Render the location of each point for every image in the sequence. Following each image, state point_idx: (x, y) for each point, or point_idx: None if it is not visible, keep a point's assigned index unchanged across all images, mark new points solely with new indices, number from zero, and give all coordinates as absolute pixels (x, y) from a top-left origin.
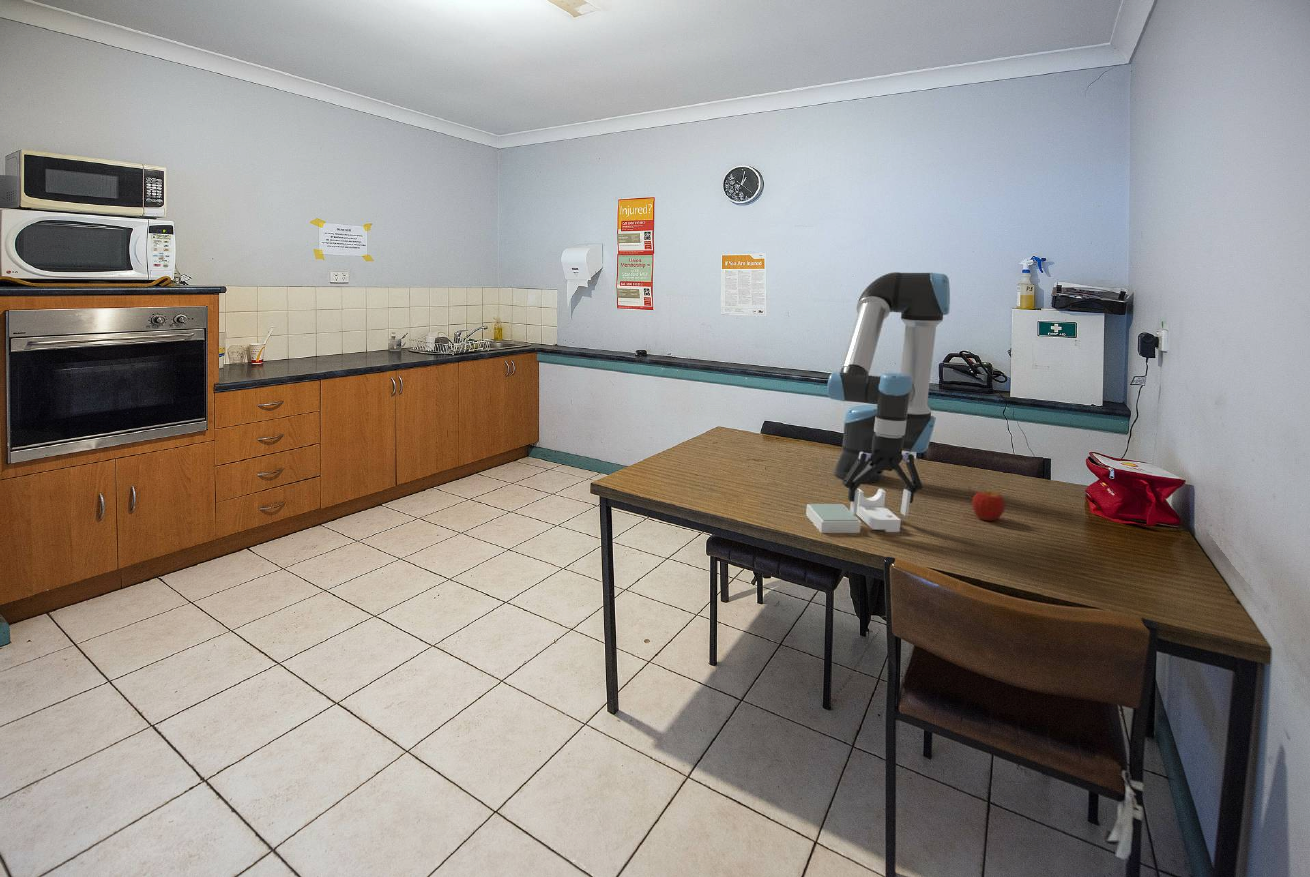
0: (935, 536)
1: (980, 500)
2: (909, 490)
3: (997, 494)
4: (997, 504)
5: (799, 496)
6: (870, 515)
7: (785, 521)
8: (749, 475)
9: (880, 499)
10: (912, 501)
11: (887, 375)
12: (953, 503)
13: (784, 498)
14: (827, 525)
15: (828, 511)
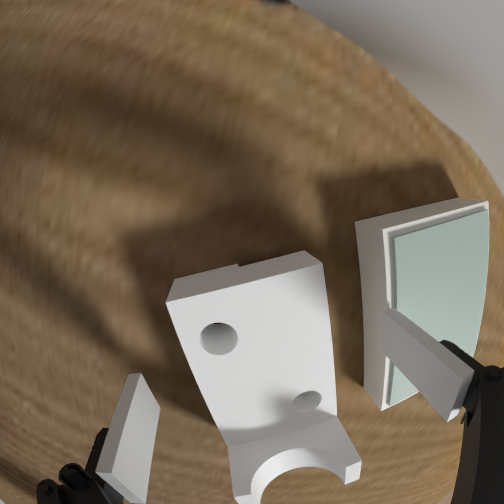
0: (43, 258)
1: None
2: (107, 486)
3: None
4: None
5: (410, 446)
6: (321, 325)
7: (498, 271)
8: (435, 474)
9: (250, 464)
10: (98, 433)
11: None
12: (53, 480)
13: (443, 419)
14: (467, 202)
15: (458, 309)
